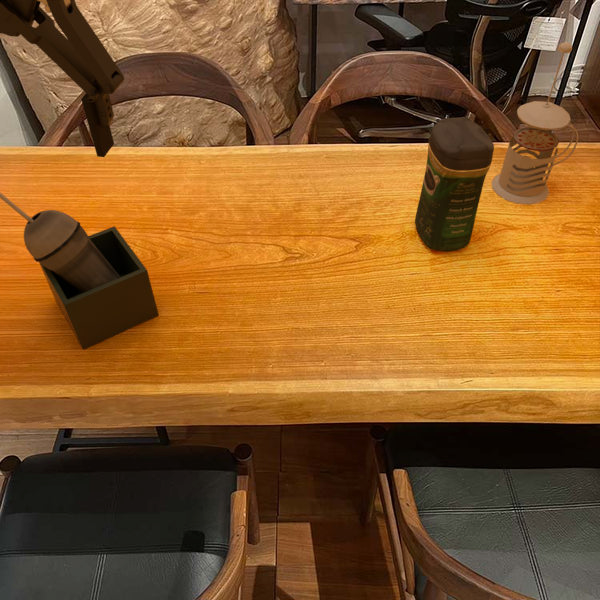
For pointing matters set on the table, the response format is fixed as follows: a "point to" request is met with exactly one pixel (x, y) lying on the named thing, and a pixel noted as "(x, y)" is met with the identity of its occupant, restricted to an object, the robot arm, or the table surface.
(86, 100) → the robot arm
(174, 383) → the table surface
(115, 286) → the bin
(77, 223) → the beverage cup
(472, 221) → the coffee jar
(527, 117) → the french press
